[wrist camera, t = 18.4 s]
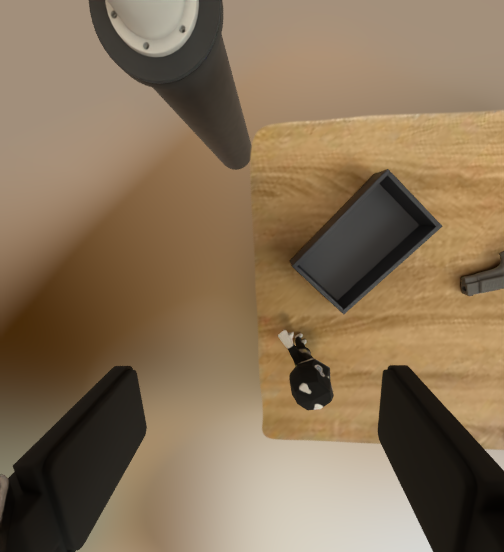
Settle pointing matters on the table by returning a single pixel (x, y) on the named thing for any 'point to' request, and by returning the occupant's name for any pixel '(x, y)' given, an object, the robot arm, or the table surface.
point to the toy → (307, 375)
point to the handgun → (484, 280)
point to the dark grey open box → (365, 241)
